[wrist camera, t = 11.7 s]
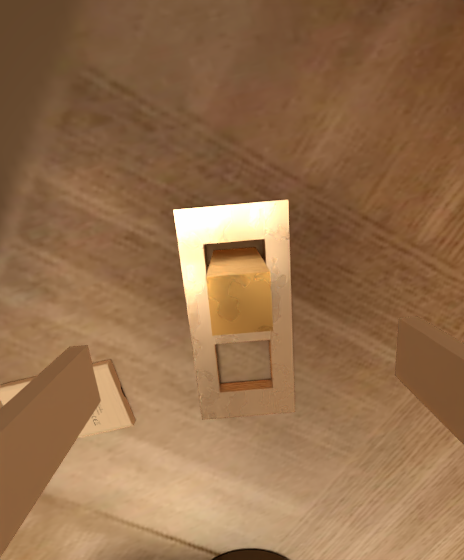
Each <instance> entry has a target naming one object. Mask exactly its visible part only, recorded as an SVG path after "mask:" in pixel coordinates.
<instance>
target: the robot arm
mask: <svg viewBox="0 0 464 560" xmlns="http://www.w3.org/2000/svg"><path fill="white" fill-rule="evenodd" d="M395 376H396V377H397V378H398V379H399V380H400V381H401V382H402V383H403V384H404V385H405V386H406V387H407V388H408V389H409V390H410V391H411V392H412V393H413V394H414V395H415V396H416V397H417V398H418V399H419V400H420V401H421V402H422V403H423V404H424V405H425V406H426V407H427V408H428V409H429V410H430V411H431V412H432V413H433V414H434V415H435V416H436V417H437V418H438V419H439V420H440V421H441V422H442V423H443V424H444V425H445V426H446V427H447V428H448V429H449V430H450V431H451V432H452V433H453V434H454V435H455V436H456V437H457V438H458V439H459V440H460V441H461V442H462V443H463V444H464V343H463V342H461V341H459V340H457V339H456V338H454V337H452V336H451V335H449V334H447V333H445V332H444V331H442V330H440V329H438V328H437V327H435V326H433V325H432V324H430V323H428V322H426V321H425V320H423V319H421V318H419V317H418V316H413V317H402V318H399V323H398V337H397V352H396V367H395ZM100 402H101V399H100V395H99V391H98V386H97V382H96V378H95V374H94V370H93V365H92V361H91V357H90V353H89V349H88V345H83V346H72V347H69V348H68V349H66V350H65V351H64V352H63V353H62V354H61V355H60V356H59V357H57V358H56V359H55V360H54V361H53V362H52V363H51V364H50V365H49V366H47V367H46V368H45V369H44V370H43V371H42V372H41V373H40V374H39V375H37V376H36V377H35V378H34V379H33V380H32V381H31V382H30V383H28V384H27V385H26V386H25V387H24V388H23V389H22V390H21V391H20V392H18V393H17V394H16V395H15V396H14V397H13V398H12V399H11V400H10V401H8V402H7V403H6V404H5V405H4V406H3V407H2V408H1V409H0V557H1V556H2V554H3V553H4V551H5V549H6V548H7V546H8V545H9V543H10V542H11V540H12V539H13V537H14V535H15V534H16V532H17V531H18V529H19V528H20V526H21V525H22V523H23V521H24V520H25V518H26V517H27V515H28V514H29V512H30V511H31V509H32V507H33V506H34V504H35V503H36V501H37V500H38V498H39V497H40V495H41V494H42V492H43V490H44V489H45V487H46V486H47V484H48V483H49V481H50V480H51V478H52V476H53V475H54V473H55V472H56V470H57V469H58V467H59V466H60V464H61V462H62V461H63V459H64V458H65V456H66V455H67V453H68V452H69V450H70V448H71V447H72V445H73V444H74V442H75V441H76V439H77V438H78V436H79V434H80V433H81V431H82V430H83V428H84V427H85V425H86V424H87V422H88V420H89V419H90V417H91V416H92V414H93V413H94V411H95V410H96V408H97V406H98V405H99V403H100ZM214 560H287V559H285V558H283V557H281V556H279V555H277V554H274V553H270V552H266V551H260V550H242V551H236V552H231V553H228V554H225V555H222V556H220V557H218V558H216V559H214Z"/></svg>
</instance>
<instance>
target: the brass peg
mask: <svg viewBox="0 0 464 560" xmlns="http://www.w3.org/2000/svg"><path fill="white" fill-rule="evenodd" d="M206 283H207V292H208V301H209V310H210V320H211V329H212V336H215V335H227V334H240V333H252V332H265V331H273V318H272V296H271V273H270V270H269V269H268V267H267V265H266V264H265V262H264V260H263V259H262V257H261V256H260V254H259V252H258V251H257V249H256V247H249V248H237V249H224V250H214V251H213V254H212V258H211V261H210V264H209V268H208V271H207V275H206Z"/></svg>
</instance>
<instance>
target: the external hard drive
mask: <svg viewBox="0 0 464 560" xmlns="http://www.w3.org/2000/svg"><path fill="white" fill-rule="evenodd" d="M92 365H93V370H94V374H95V378H96V382H97V386H98V391H99V395H100V399H101V402H100V403H99V405H98V406H97V408H96V410H95V411H94V413H93V414H92V416H91V417H90V419H89V420H88V422H87V424H86V425H85V427H84V428H83V430H82V431H81V433H80V434H79V436H78V438H80V437H85V436H89V435H94V434H98V433H103V432H107V431H112V430H116V429H121V428H126V427H130V426H134V423H135V418H134V416H133V413H132V411H131V408H130V406H129V403H128V401H127V399H126V397H125V396H124V395H123V393H122V390H121V384H120V381H119V379H118V376H117V374H116V371H115V369H114V366H113V364H112V361H111V360H106V361H101V362H97V363H93V364H92ZM34 378H35V377H31V378H27V379H23V380H18V381H14V382H10V383H6V384H2V385H1V386H0V401H1V402H2V404H3V406H4V405H5V404H6V403H7V402H8V401H10V400H11V399H12V398H13V397H14V396H15V395H16V394H17V393H18V392H20V391H21V390H22V389H23V388H24V387H25V386H26V385H27V384H28V383H30V382H31V381H32V380H33V379H34Z"/></svg>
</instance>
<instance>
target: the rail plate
mask: <svg viewBox="0 0 464 560" xmlns="http://www.w3.org/2000/svg"><path fill="white" fill-rule="evenodd" d="M174 218H175V225H176V232H177V239H178V247H179V254H180V261H181V269H182V276H183V283H184V290H185V298H186V305H187V312H188V319H189V327H190V334H191V341H192V349H193V356H194V363H195V370H196V378H197V385H198V392H199V399H200V407H201V414H202V420H204V419H216V418H228V417H240V416H252V415H264V414H276V413H288V412H295V397H294V365H293V334H292V302H291V271H290V240H289V208H288V200H277V201H266V202H255V203H244V204H232V205H221V206H210V207H199V208H188V209H176V210H174ZM257 239H263V247H264V262H265V264H266V265H267V267H268V269H269V270H270V273H271V296H272V318H273V331H265V332H252V333H240V334H227V335H215V336H212V329H211V320H210V310H209V301H208V292H207V283H206V275H207V263H206V254H205V245H204V244H212V243H223V242H234V241H246V240H257ZM260 340H269V353H270V370H271V379H269V380H258V381H246V382H234V383H222V384H220V378H219V370H218V361H217V352H216V344H224V343H236V342H248V341H260Z"/></svg>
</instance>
